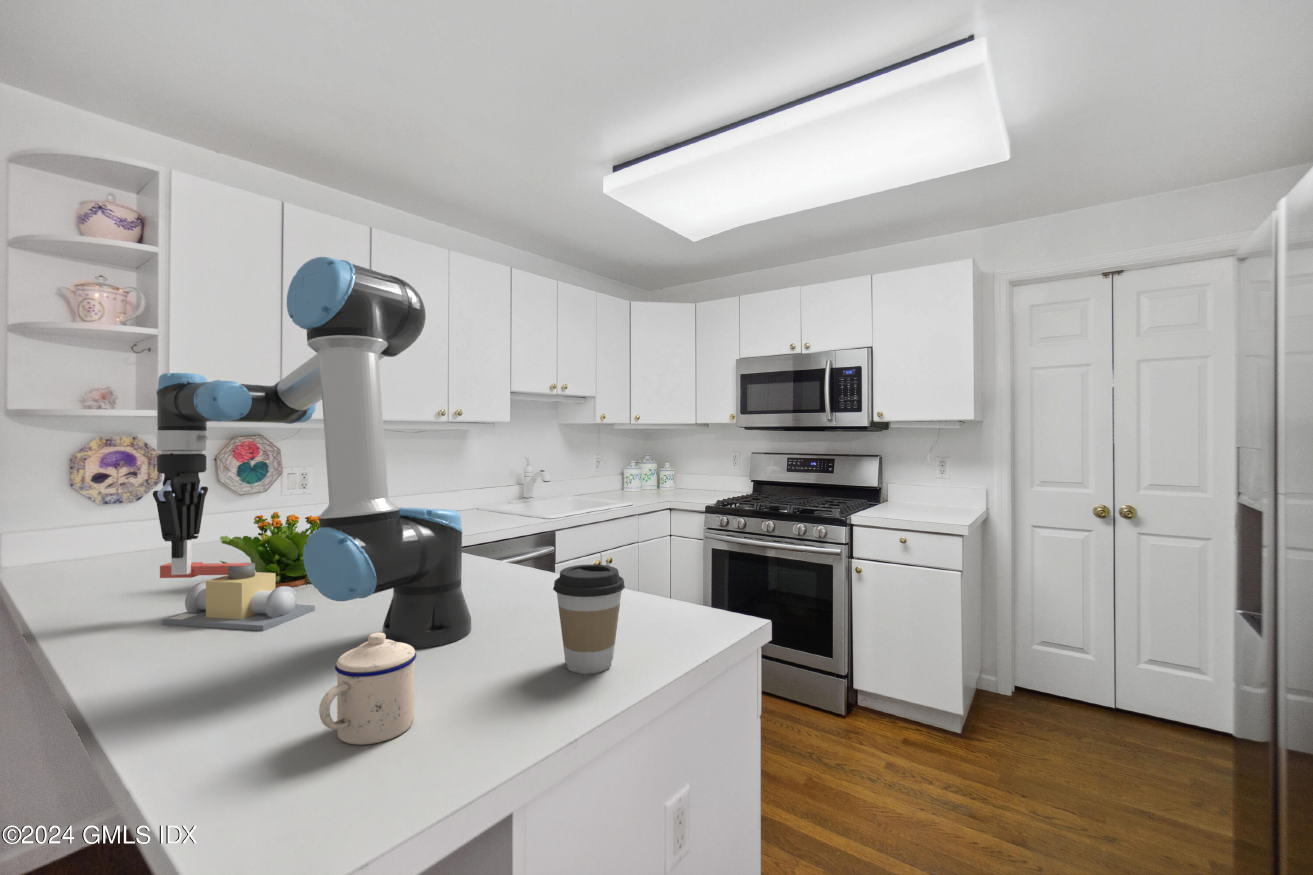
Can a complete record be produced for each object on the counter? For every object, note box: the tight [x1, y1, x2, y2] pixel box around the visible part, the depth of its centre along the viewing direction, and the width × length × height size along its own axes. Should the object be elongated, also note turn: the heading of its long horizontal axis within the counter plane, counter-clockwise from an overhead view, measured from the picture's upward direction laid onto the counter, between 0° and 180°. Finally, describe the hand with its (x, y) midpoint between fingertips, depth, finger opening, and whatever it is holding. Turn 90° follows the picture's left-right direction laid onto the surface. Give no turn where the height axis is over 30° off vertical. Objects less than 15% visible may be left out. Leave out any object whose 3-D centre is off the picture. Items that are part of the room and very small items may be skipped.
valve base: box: [161, 571, 316, 632], centre depth 116 cm, size 22×13×8 cm, turn 81°
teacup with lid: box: [318, 632, 417, 746], centre depth 71 cm, size 12×9×12 cm
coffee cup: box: [552, 563, 626, 675], centre depth 92 cm, size 11×11×15 cm
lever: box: [159, 561, 256, 580], centre depth 116 cm, size 17×4×3 cm, turn 93°
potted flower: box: [219, 511, 320, 588], centre depth 141 cm, size 25×24×18 cm
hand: (181, 573), depth 113 cm, fingers closed
